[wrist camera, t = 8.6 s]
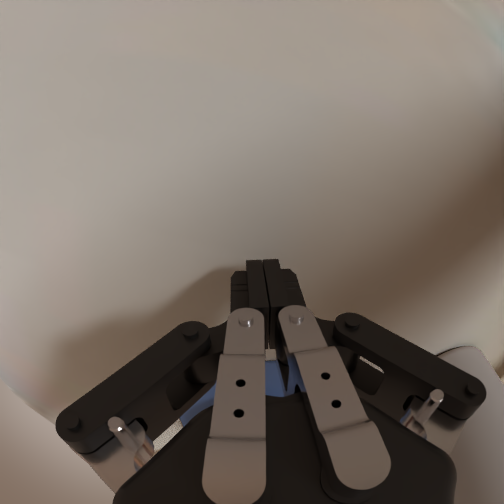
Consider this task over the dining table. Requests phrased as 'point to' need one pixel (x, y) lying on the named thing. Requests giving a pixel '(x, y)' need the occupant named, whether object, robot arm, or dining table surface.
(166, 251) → the dining table surface
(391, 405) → the robot arm
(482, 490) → the cylinder vase
